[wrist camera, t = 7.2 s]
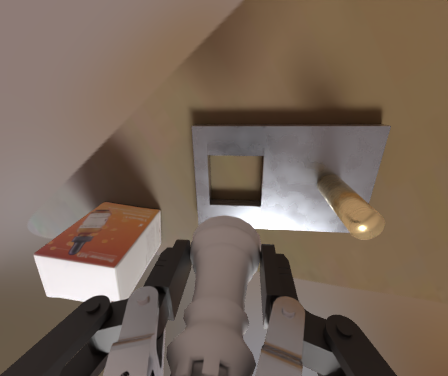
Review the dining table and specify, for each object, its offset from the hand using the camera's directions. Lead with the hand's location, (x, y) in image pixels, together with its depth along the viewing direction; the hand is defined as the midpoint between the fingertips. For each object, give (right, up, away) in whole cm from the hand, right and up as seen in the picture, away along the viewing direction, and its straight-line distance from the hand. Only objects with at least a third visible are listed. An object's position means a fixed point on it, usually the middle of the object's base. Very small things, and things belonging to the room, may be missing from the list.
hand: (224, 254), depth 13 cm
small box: (-12, -1, +17) cm, 21 cm away
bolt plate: (+6, +5, +12) cm, 14 cm away
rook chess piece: (0, +1, +1) cm, 1 cm away
